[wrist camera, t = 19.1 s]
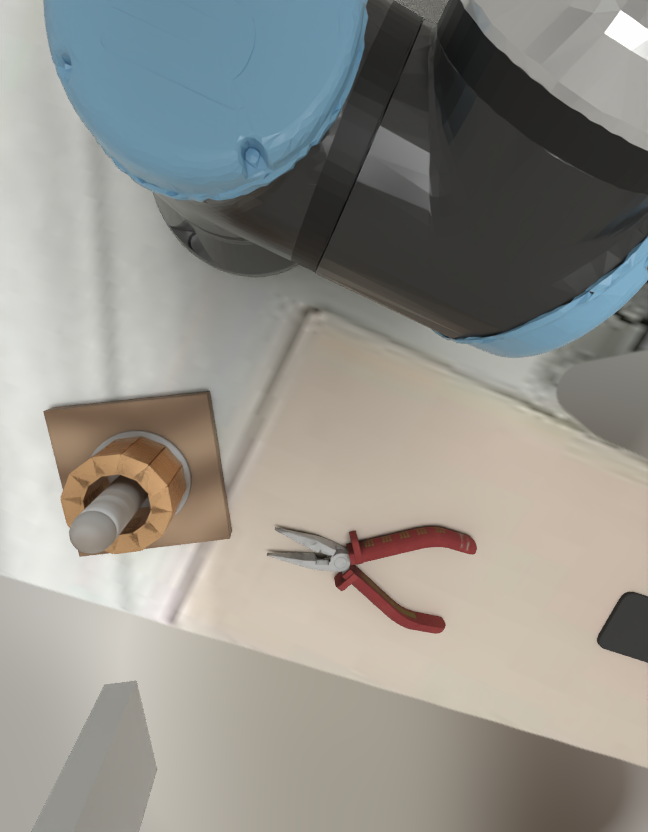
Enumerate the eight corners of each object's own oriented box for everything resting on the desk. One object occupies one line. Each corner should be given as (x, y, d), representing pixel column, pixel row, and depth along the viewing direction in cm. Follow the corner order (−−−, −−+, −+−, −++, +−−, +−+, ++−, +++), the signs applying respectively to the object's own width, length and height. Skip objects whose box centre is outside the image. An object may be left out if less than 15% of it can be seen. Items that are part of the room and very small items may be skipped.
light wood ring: (81, 442, 39) (51, 461, 34) (176, 432, 39) (160, 449, 34) (101, 528, 41) (75, 558, 36) (192, 518, 41) (179, 546, 36)
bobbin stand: (52, 407, 40) (-57, 452, 28) (209, 391, 41) (173, 427, 28) (86, 548, 44) (3, 645, 31) (231, 530, 44) (208, 619, 32)
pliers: (287, 483, 44) (286, 494, 42) (474, 531, 47) (484, 544, 44) (256, 584, 46) (254, 600, 44) (436, 624, 49) (444, 641, 47)
